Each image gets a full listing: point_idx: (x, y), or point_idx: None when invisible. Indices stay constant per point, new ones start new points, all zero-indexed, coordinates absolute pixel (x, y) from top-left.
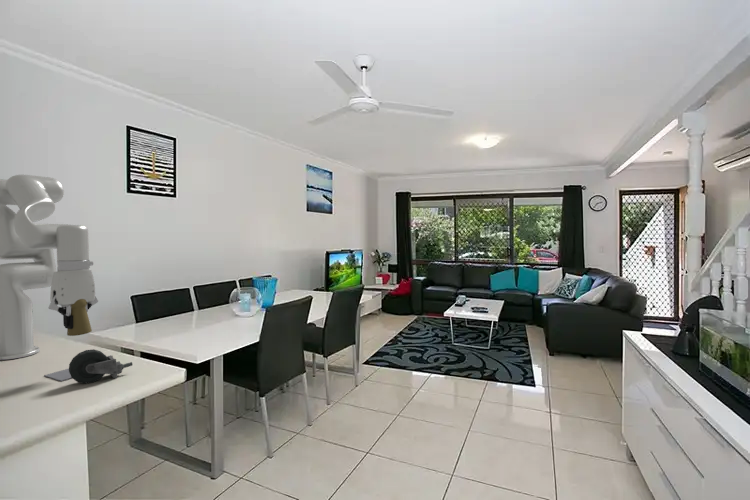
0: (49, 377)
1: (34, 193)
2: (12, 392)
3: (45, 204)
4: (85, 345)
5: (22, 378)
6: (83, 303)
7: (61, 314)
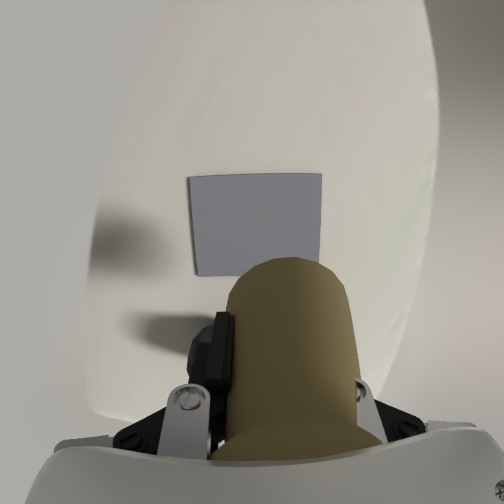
0: (192, 209)
1: None
2: (100, 247)
3: None
4: None
5: (147, 139)
6: None
7: (174, 390)
